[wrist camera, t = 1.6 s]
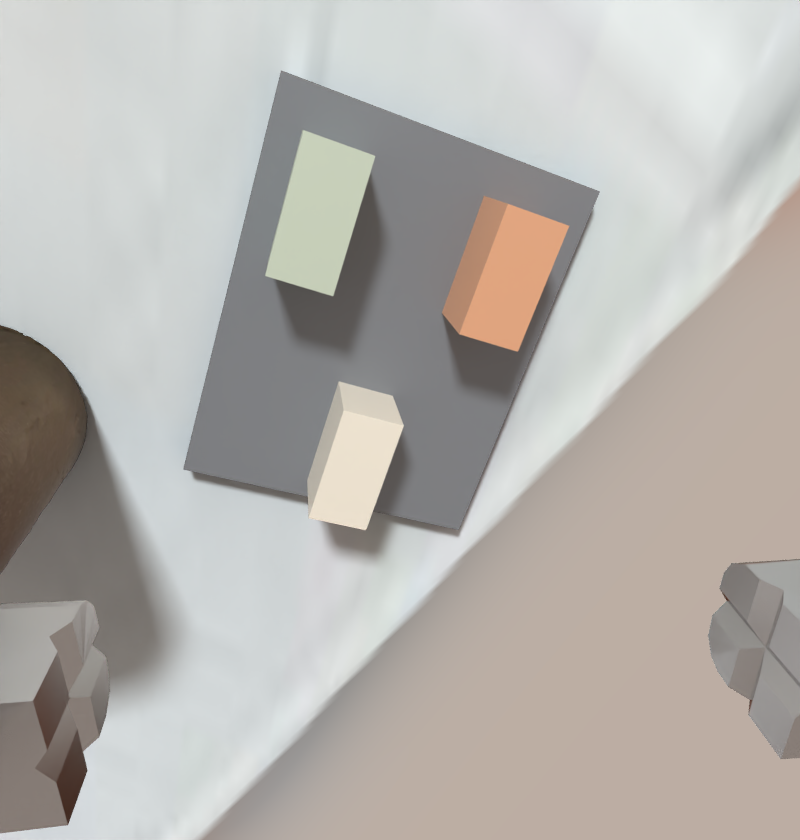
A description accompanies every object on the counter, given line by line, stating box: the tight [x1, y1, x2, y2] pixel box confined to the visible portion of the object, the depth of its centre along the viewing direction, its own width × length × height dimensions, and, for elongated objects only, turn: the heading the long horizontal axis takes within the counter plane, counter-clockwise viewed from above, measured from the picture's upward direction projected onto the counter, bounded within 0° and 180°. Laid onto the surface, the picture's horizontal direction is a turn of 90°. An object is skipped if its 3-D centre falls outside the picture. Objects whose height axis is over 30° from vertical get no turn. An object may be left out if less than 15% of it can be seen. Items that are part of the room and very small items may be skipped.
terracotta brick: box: [442, 196, 569, 352], centre depth 32 cm, size 6×3×4 cm, turn 161°
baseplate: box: [184, 71, 599, 530], centre depth 35 cm, size 20×16×1 cm
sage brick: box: [265, 130, 375, 296], centre depth 30 cm, size 6×3×4 cm, turn 161°
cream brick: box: [307, 382, 404, 530], centre depth 35 cm, size 6×3×4 cm, turn 161°
